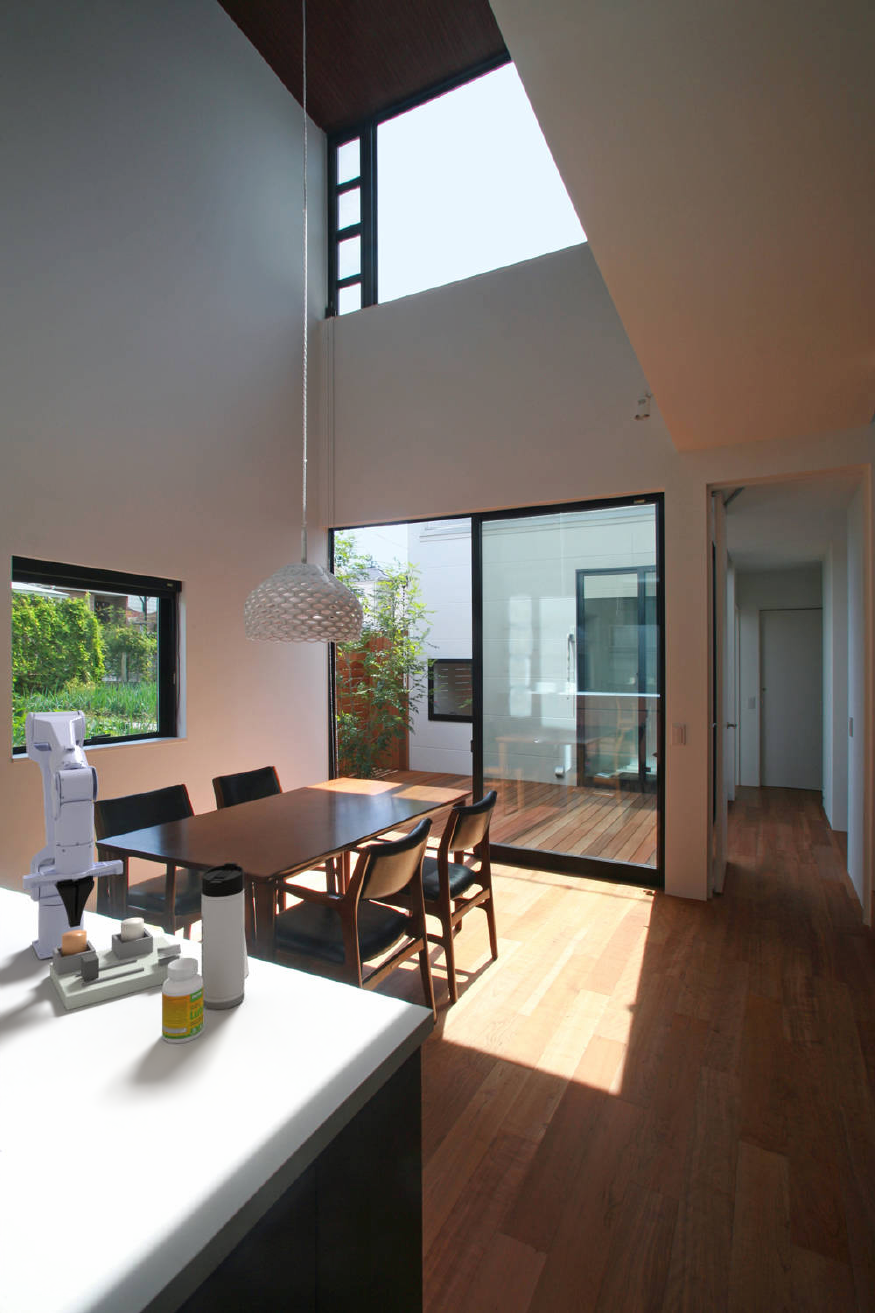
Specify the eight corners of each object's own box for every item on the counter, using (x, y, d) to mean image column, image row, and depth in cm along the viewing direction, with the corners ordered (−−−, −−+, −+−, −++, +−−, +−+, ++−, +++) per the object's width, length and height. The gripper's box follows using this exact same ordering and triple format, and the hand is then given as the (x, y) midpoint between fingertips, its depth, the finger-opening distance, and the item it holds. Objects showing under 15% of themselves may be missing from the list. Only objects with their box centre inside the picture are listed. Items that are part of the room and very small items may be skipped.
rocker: (157, 957, 113) (157, 948, 114) (173, 953, 115) (173, 944, 115) (164, 957, 110) (163, 948, 111) (181, 953, 112) (180, 944, 112)
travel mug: (251, 990, 107) (251, 862, 107) (234, 1011, 100) (234, 875, 101) (213, 989, 108) (213, 862, 108) (194, 1009, 101) (194, 874, 101)
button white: (118, 938, 118) (118, 920, 118) (140, 933, 120) (140, 916, 120) (123, 944, 115) (123, 927, 115) (146, 939, 117) (146, 922, 117)
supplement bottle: (194, 1044, 92) (194, 972, 92) (155, 1044, 92) (155, 972, 92) (209, 1024, 97) (209, 955, 97) (171, 1023, 97) (171, 955, 97)
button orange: (59, 951, 112) (59, 933, 112) (84, 946, 115) (84, 928, 115) (63, 959, 110) (63, 940, 110) (88, 953, 112) (88, 934, 112)
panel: (49, 975, 113) (49, 947, 113) (162, 947, 124) (162, 922, 124) (66, 1010, 101) (66, 979, 101) (189, 976, 112) (189, 948, 112)
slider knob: (81, 975, 108) (81, 956, 108) (94, 971, 109) (94, 953, 109) (84, 981, 105) (84, 962, 105) (98, 978, 107) (98, 958, 107)
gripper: (27, 854, 105) (26, 943, 105) (127, 839, 114) (127, 921, 113) (21, 845, 110) (20, 930, 110) (117, 832, 119) (117, 910, 119)
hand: (74, 925), depth 112 cm, fingers closed
